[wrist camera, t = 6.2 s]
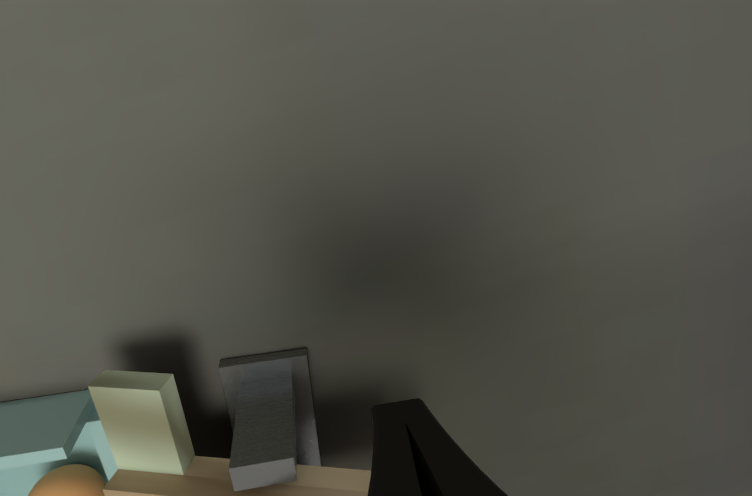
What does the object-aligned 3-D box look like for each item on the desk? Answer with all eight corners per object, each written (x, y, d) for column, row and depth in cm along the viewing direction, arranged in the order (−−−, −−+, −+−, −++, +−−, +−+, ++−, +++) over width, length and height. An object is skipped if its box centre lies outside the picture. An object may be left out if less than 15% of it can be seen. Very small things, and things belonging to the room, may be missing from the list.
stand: (325, 499, 27) (334, 604, 22) (253, 513, 27) (246, 623, 22) (305, 347, 23) (311, 434, 18) (220, 359, 23) (201, 452, 18)
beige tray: (428, 559, 21) (425, 621, 19) (159, 530, 23) (128, 583, 21) (426, 388, 18) (422, 440, 15) (104, 369, 20) (59, 414, 17)
